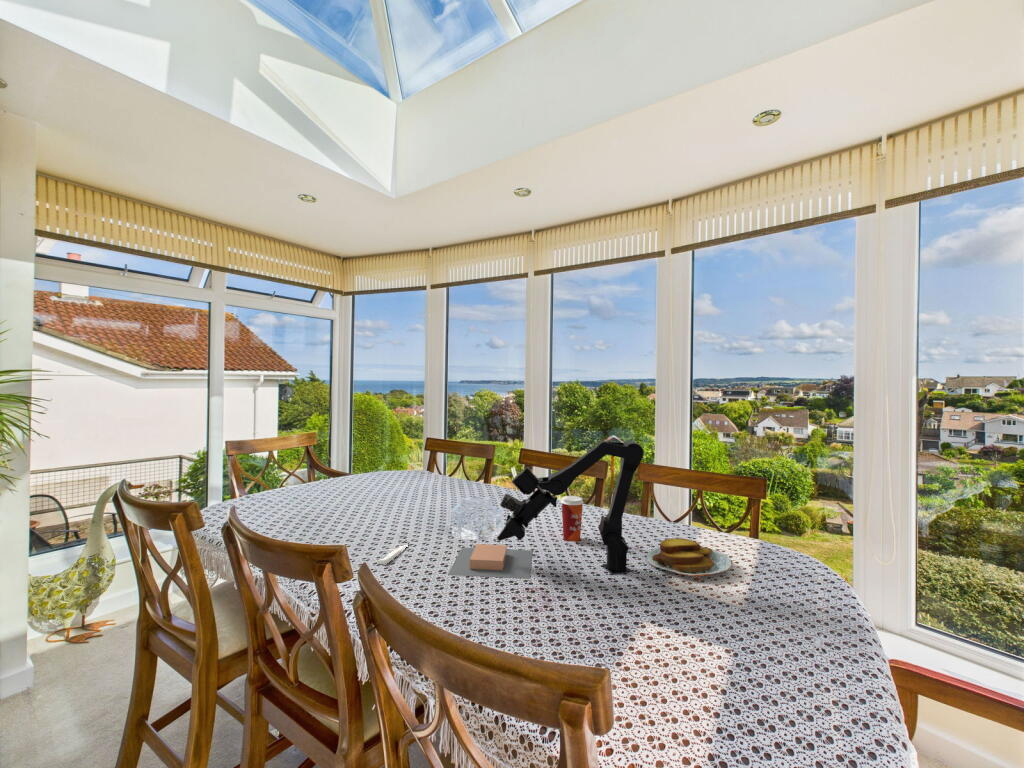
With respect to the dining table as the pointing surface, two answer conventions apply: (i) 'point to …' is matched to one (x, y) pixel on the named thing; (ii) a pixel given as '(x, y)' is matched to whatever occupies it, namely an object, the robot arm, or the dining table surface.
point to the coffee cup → (572, 517)
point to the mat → (513, 568)
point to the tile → (488, 557)
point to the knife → (392, 555)
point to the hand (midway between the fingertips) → (498, 539)
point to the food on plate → (688, 558)
